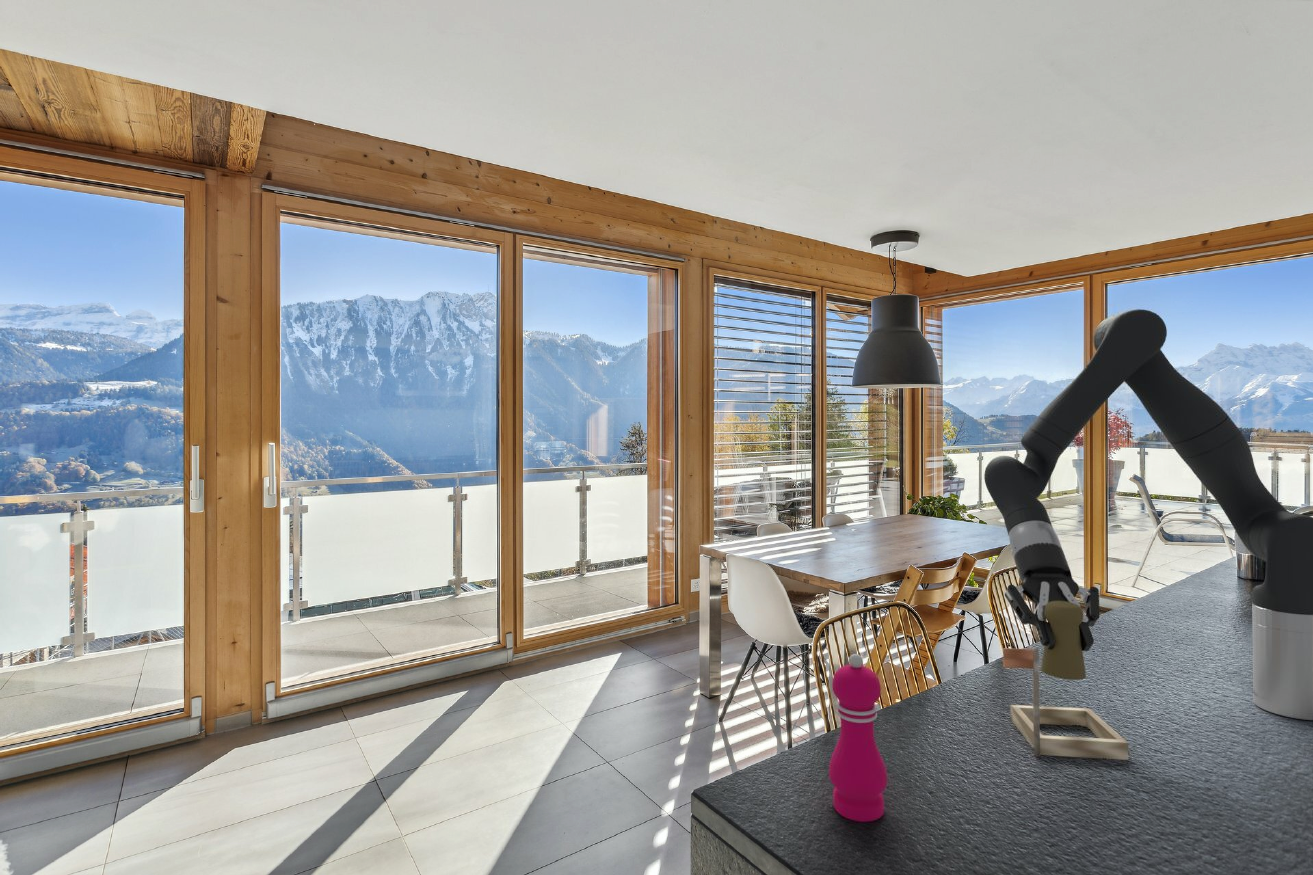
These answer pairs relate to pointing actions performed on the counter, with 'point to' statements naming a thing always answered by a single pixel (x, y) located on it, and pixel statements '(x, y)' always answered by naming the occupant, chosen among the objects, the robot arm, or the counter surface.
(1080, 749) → the wooden square frame
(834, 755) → the pepper mill
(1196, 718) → the counter surface
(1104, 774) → the counter surface
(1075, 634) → the cork
